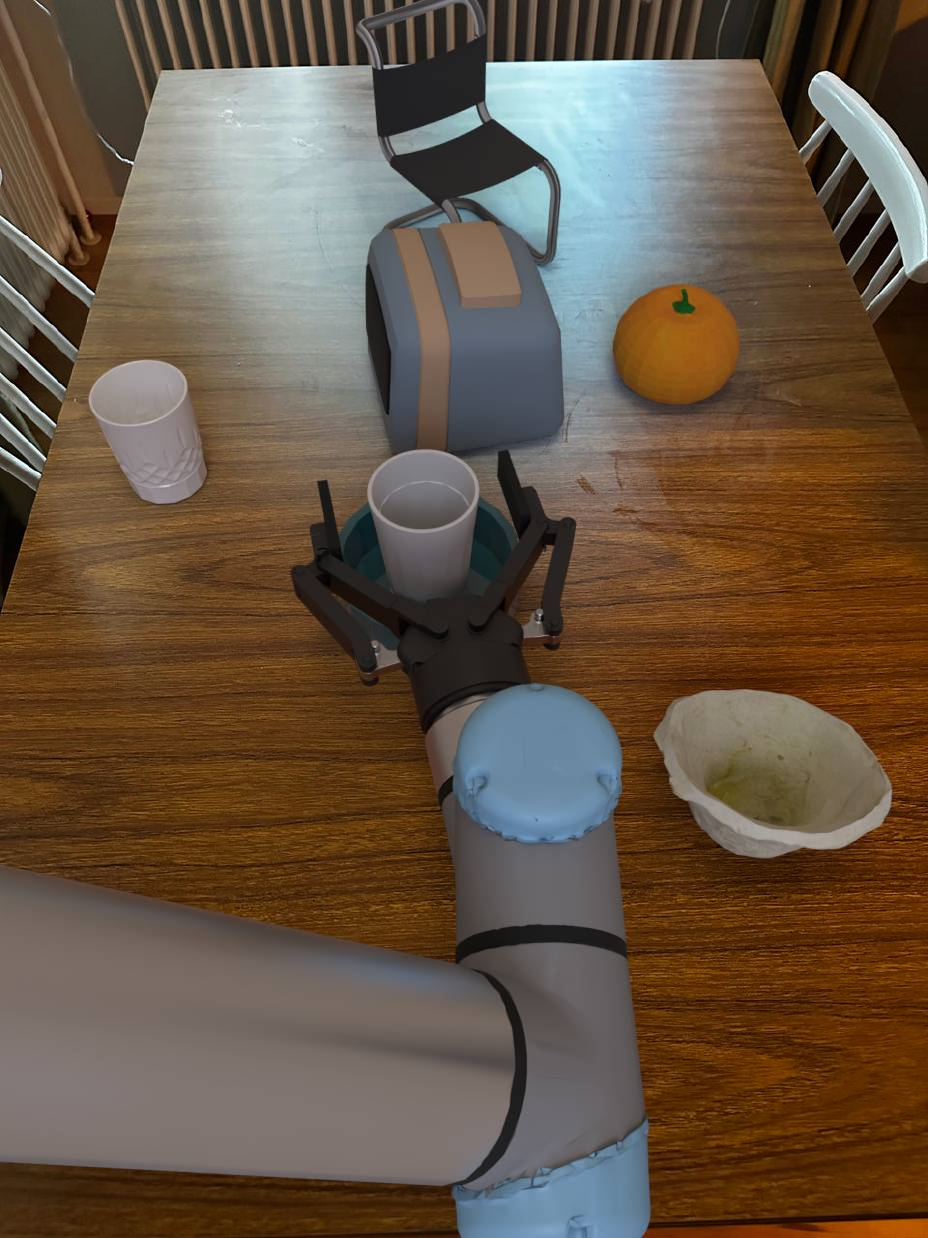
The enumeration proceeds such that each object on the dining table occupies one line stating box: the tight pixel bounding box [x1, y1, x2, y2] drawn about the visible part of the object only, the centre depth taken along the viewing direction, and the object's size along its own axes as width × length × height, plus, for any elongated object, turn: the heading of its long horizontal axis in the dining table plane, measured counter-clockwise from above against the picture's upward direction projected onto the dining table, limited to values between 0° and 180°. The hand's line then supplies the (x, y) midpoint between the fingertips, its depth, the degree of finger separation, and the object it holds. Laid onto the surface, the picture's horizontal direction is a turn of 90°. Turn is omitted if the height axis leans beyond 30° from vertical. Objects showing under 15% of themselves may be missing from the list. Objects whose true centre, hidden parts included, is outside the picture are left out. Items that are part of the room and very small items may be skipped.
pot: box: [337, 496, 520, 651], centre depth 76 cm, size 15×15×5 cm
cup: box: [366, 449, 480, 606], centre depth 73 cm, size 8×8×12 cm
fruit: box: [611, 283, 741, 406], centre depth 88 cm, size 12×12×10 cm
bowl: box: [653, 688, 893, 859], centre depth 63 cm, size 15×14×10 cm
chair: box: [355, 0, 562, 266], centre depth 95 cm, size 13×17×22 cm
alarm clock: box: [364, 220, 565, 455], centre depth 85 cm, size 16×16×16 cm
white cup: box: [88, 359, 208, 505], centre depth 81 cm, size 8×8×10 cm
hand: (414, 477), depth 71 cm, fingers open, 13 cm apart
